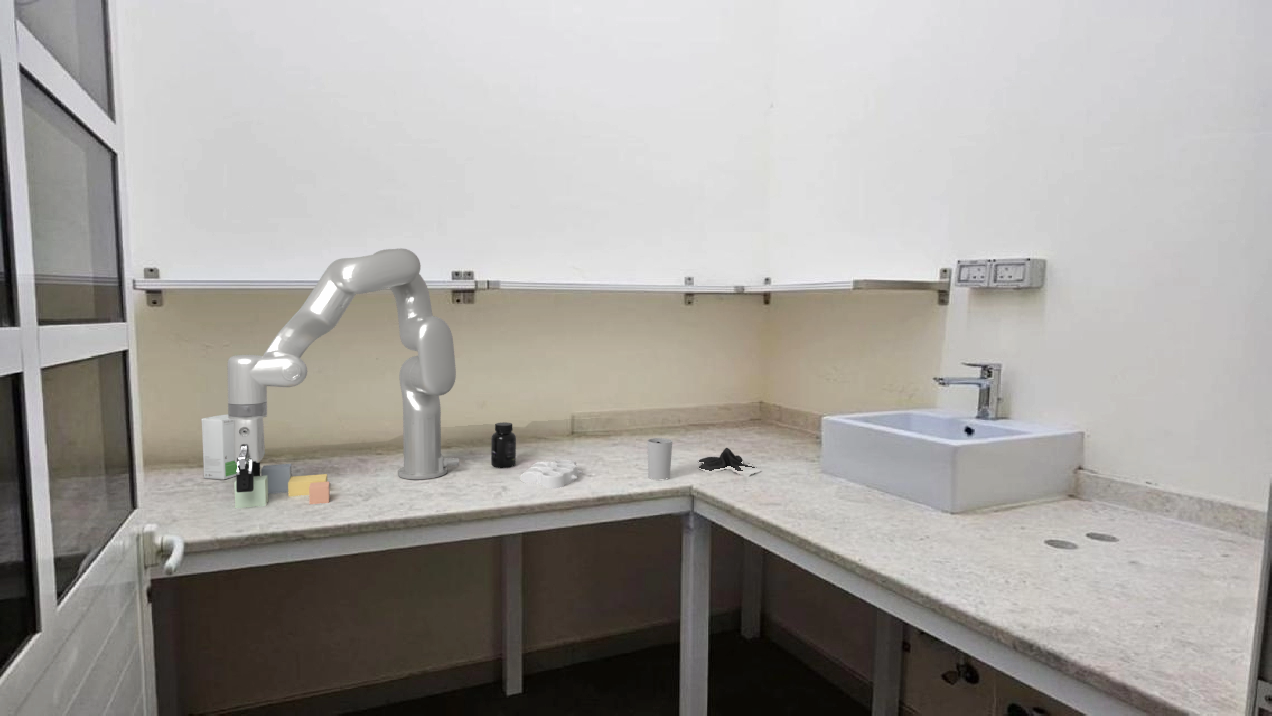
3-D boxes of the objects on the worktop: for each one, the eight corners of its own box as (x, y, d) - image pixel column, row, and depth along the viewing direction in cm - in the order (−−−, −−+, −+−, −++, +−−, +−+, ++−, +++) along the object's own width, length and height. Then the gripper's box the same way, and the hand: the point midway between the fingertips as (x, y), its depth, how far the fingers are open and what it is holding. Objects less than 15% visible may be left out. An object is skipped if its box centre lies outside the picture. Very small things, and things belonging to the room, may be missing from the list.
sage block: (268, 500, 155) (267, 475, 155) (265, 506, 151) (264, 479, 151) (238, 503, 153) (237, 477, 152) (235, 508, 149) (234, 482, 149)
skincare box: (223, 480, 171) (221, 420, 169) (201, 478, 172) (199, 418, 170) (249, 472, 179) (246, 414, 177) (227, 470, 180) (225, 413, 179)
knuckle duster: (536, 469, 188) (587, 472, 186) (515, 487, 170) (572, 490, 168) (536, 457, 188) (587, 460, 186) (515, 474, 170) (572, 477, 168)
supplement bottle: (486, 467, 188) (486, 424, 187) (500, 461, 195) (500, 420, 193) (507, 469, 186) (507, 427, 185) (520, 464, 192) (520, 422, 191)
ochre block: (327, 487, 167) (327, 473, 167) (325, 494, 161) (325, 480, 161) (291, 490, 164) (291, 476, 164) (288, 497, 159) (288, 483, 158)
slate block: (292, 487, 166) (291, 463, 165) (290, 492, 162) (289, 467, 162) (264, 489, 164) (263, 465, 163) (262, 494, 160) (261, 469, 159)
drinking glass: (641, 477, 181) (642, 440, 180) (657, 472, 185) (658, 437, 185) (660, 482, 176) (661, 444, 175) (676, 477, 181) (677, 440, 180)
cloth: (765, 479, 183) (766, 457, 182) (697, 477, 184) (697, 455, 183) (756, 459, 205) (756, 439, 204) (695, 457, 206) (695, 438, 205)
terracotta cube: (329, 498, 158) (329, 481, 158) (328, 503, 154) (328, 486, 154) (310, 499, 157) (310, 482, 156) (309, 504, 153) (309, 487, 153)
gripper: (261, 416, 143) (262, 495, 145) (271, 404, 159) (272, 475, 161) (220, 417, 141) (221, 497, 142) (235, 405, 157) (236, 477, 158)
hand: (248, 485), depth 151 cm, fingers open, 9 cm apart
